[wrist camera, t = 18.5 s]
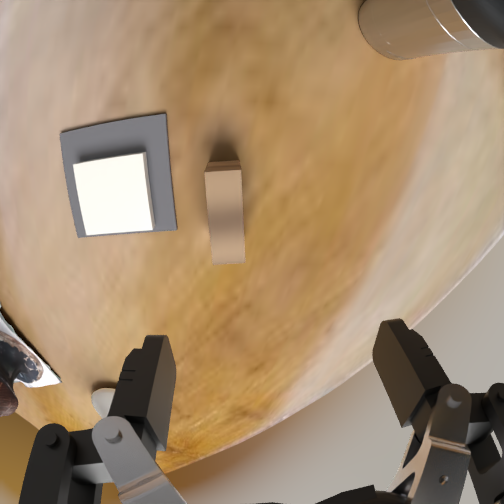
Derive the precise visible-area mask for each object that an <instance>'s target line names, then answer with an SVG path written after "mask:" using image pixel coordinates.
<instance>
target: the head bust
mask: <svg viewBox="0 0 504 504" xmlns="http://www.w3.org/2000/svg"><path fill="white" fill-rule="evenodd" d="M0 308H1V304H0ZM15 382H22V383H24V384H25V386H26V387H30V388H31V387H41V386H46V385H51V384H57V383H61V381H60V378H59V377H58V376H57V375H56V374H54V372H53V371H51V369H50V367H49V366H48V365H46V364H45V363H44V362H43V361H42V359H41V358H39V357H38V356H37V355H36V354H35V353H34V351H33V350H32V349H31V348H30V347H29V346H27V345H26V343H24V341H23V340H22V339H21V338H19V337H18V336H17V334H16V333H15V331H14V329H13V327H12V326H11V325H9V324H8V323H7V322H6V320H5V319H4V317H3V316H2V314H1V312H0V417H1V416H8V415H10V414H12V413H13V412H14V411H15V410H16V409H17V407H18V399H17V397H16V395H15V393H14V390H13V383H15Z"/></svg>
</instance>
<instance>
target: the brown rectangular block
mask: <svg viewBox="0 0 504 504" xmlns="http://www.w3.org/2000/svg"><path fill="white" fill-rule="evenodd" d="M204 173H205V186H206V198H207V210H208V221H209V232H210V242H211V252H212V262H213V265H217V264H235V263H245V243H244V222H243V200H242V178H241V166H240V160H234V161H218V162H209V163H208V165H207V167H206V170H205V172H204Z"/></svg>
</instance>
